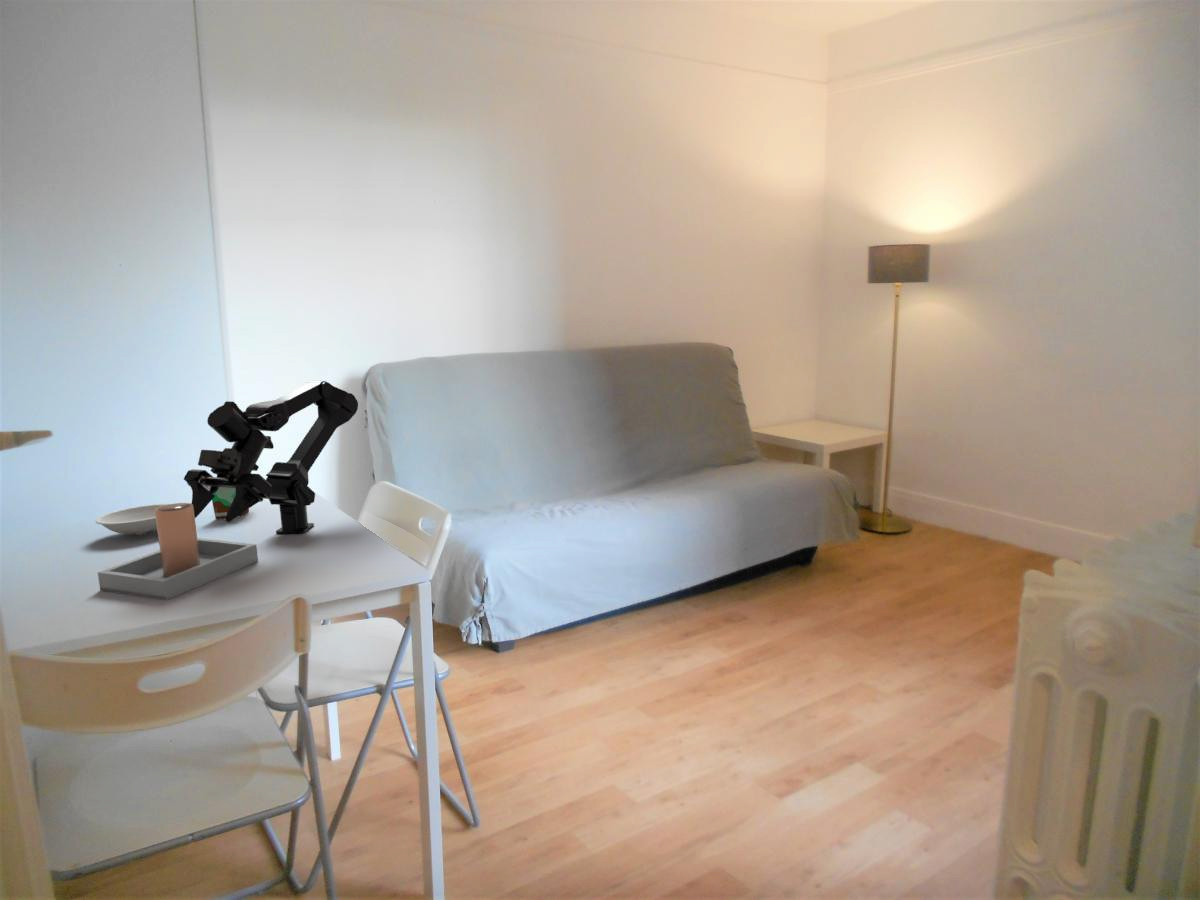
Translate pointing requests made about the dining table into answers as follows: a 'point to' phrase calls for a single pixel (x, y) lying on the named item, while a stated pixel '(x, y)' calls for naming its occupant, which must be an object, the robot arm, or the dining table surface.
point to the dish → (131, 520)
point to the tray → (150, 581)
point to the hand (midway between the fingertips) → (209, 519)
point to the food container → (224, 502)
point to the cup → (177, 537)
